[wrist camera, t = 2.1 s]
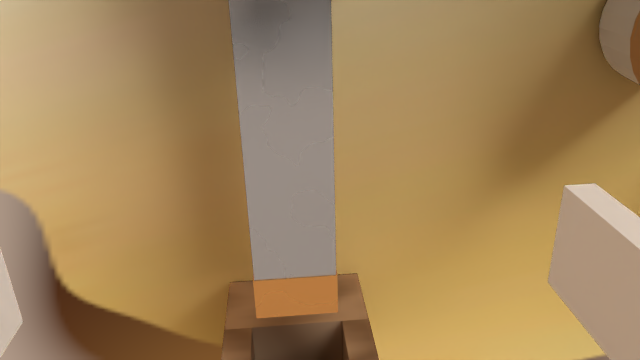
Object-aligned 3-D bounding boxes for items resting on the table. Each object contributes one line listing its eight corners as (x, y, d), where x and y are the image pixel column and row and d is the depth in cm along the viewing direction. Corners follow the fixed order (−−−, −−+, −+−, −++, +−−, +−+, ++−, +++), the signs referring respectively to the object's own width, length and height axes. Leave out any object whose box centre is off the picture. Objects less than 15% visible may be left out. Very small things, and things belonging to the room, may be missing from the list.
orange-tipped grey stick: (315, -375, 18) (324, -444, 15) (330, 267, 28) (338, 312, 25) (201, -375, 18) (185, -446, 15) (258, 272, 28) (256, 318, 25)
